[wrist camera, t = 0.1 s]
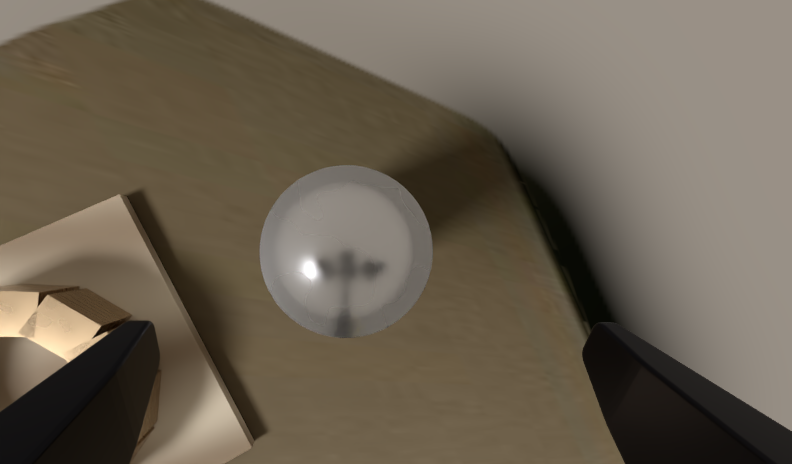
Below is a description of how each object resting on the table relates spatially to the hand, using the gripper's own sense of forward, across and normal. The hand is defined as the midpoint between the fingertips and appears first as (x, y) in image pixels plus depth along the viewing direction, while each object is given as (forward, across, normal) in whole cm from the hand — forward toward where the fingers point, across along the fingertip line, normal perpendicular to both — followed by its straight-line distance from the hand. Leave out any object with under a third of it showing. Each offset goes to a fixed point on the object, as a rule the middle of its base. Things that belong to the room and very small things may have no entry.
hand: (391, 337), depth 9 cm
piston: (+13, +1, +7) cm, 15 cm away
